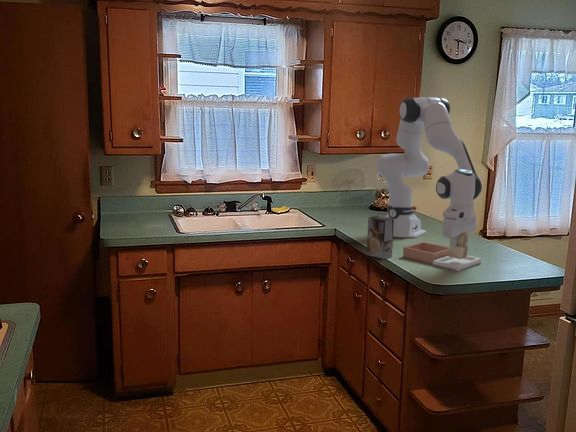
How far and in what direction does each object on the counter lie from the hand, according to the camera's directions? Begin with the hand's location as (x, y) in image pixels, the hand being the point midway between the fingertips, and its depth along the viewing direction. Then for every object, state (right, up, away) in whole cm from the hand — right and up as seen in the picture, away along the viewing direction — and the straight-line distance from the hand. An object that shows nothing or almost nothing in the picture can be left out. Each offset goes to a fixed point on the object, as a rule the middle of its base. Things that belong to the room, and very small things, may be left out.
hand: (458, 245), depth 234 cm
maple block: (0, -5, +1) cm, 5 cm away
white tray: (0, -8, +2) cm, 8 cm away
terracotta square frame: (-9, -5, +12) cm, 16 cm away
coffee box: (-29, -5, +12) cm, 32 cm away
